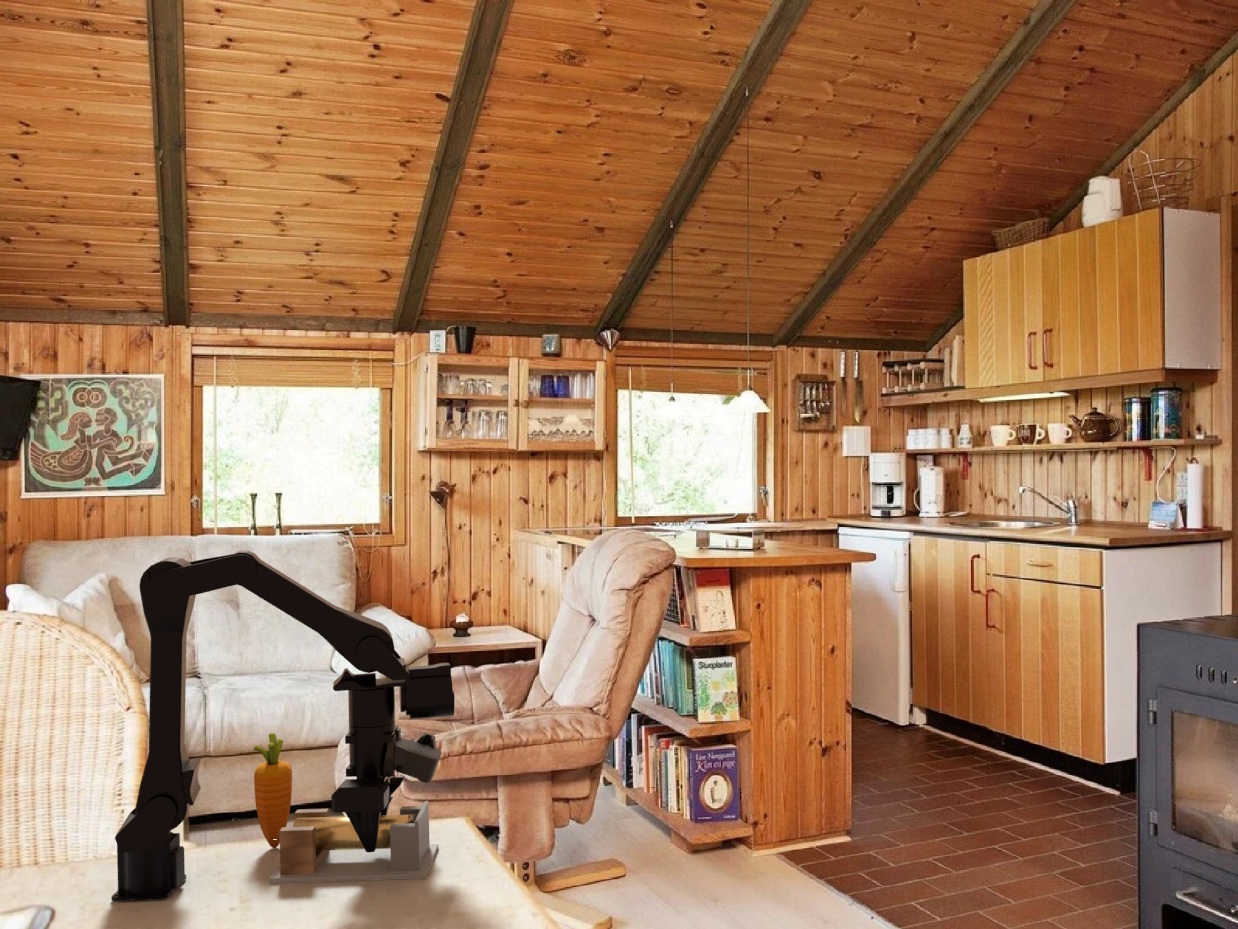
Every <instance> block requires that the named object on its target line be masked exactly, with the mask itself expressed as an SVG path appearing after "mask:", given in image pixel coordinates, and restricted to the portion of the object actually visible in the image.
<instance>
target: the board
mask: <svg viewBox="0 0 1238 929" xmlns="http://www.w3.org/2000/svg"><path fill="white" fill-rule="evenodd" d="M429 845H430V847H429V849H428V852H427V854H426V856H425V859H424V861H423V864H422V866H421V868H420V871H391V849H376V850H375V852H366V851H365V849H361V850H329V851H328V853H327V854H326V856H325V857H324V859H323V860H322V862H321V863H320V865H319V866H318V868H317V869H316V871H315V872H314V873H313V874H296V875H280V865H279V866H278V867H277V868H276V869H275V871H274V872H273V874H272V875H271V876H270V877H269V884H289V883H291V884H292V883H293V884H294V883H295V884H296V883H319V882H320V883H325V882H326V883H327V882H351V881H352V882H357V881H385V880H386V881H387V880H388V881H389V880H391V881H392V880H413V879H414V880H416V879H417V880H419V879H428V876H429V873H430V872H431V868H432V865H433V863H434V861H435V858H436V856H437V853H438V850H439V843H429Z"/></svg>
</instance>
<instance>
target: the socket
mask: <svg viewBox="0 0 1238 929" xmlns="http://www.w3.org/2000/svg"><path fill="white" fill-rule="evenodd" d="M429 806H430V804H429V800H425V801H424V802H423V804H422V805H408V806H407V805H406V806H403V805H402V806H401V807H400V808H399V815H415V814H416V815H417V818H416V820H415V822H414V823H406V824H392V825H391V827H390V849H391V871H420V868H421V866H422V864H423V861H424V859H425V856H426V854H427V852H428V849H429V847H430V845H429V844H430V810H429V809H430V807H429Z"/></svg>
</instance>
